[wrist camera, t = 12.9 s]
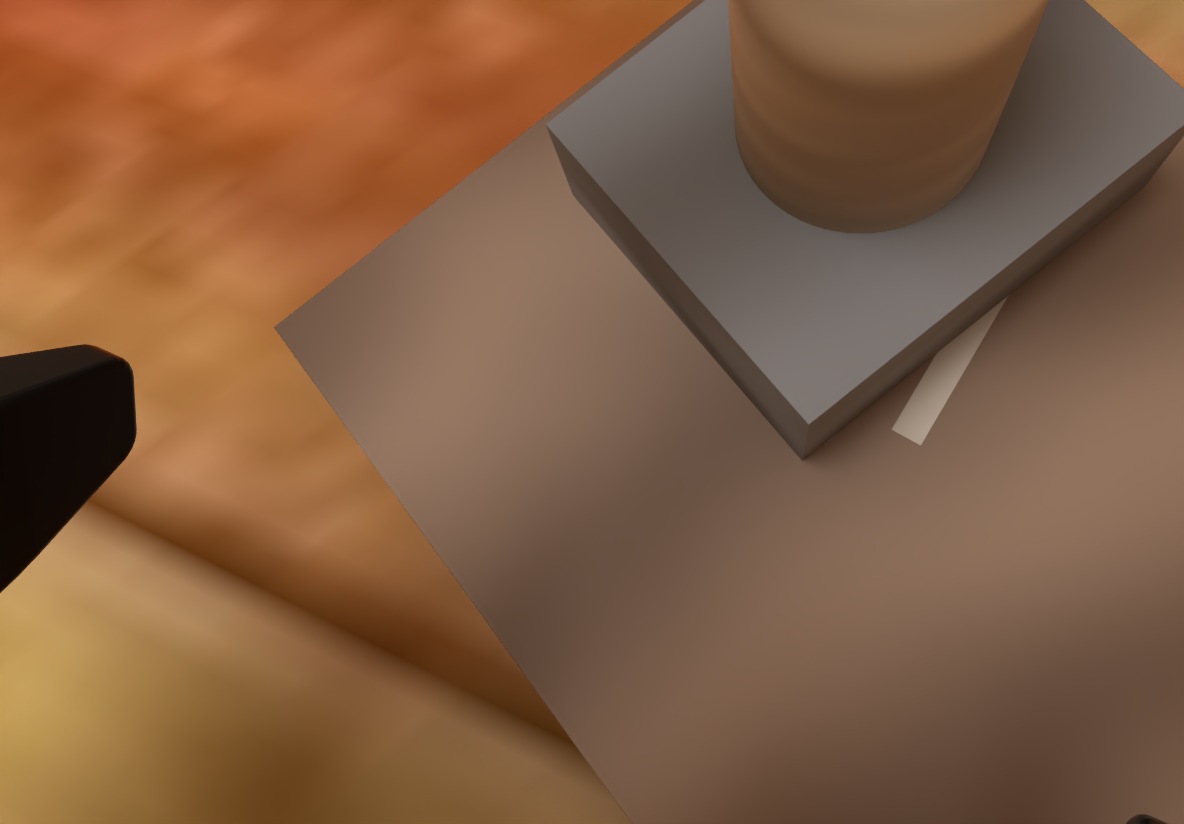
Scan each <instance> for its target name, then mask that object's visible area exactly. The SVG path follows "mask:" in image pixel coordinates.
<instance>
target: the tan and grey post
mask: <svg viewBox="0 0 1184 824" xmlns="http://www.w3.org/2000/svg"><path fill="white" fill-rule="evenodd" d="M546 126H547V129H548V132H549V134H550V137H551V139H552V142H553V145H554V147H555V150H556V152H557V155H558V158H559V160H560V163H561V165H562V168H563V171H564V173H565V176H566V178H567V181H568V184H569V186H570V189H571V191H572V194H573V196H574V197H575V198H576V199H577V200H578V202H579V203H580V204H581V205H582V206H583V207H584V209H585V210H586V211H587V212H588V213H589V214H590V216H591V217H592V218H593V219H594V220H595V221H596V222H597V224H598V225H599V226H600V227H601V228H602V229H603V231H604V232H605V233H606V234H607V235H608V236H609V238H610V239H611V240H612V241H613V242H614V243H615V244H616V246H617V247H618V248H619V249H620V250H621V251H622V253H623V254H624V255H625V256H626V257H627V258H628V260H629V261H630V262H631V263H632V264H633V265H634V266H635V268H636V269H637V270H638V271H639V272H640V273H641V275H642V276H643V277H644V278H645V279H646V280H647V282H648V283H649V284H650V285H651V286H652V287H653V288H654V290H655V291H656V292H657V293H658V294H659V295H660V297H661V298H662V299H663V300H664V301H665V302H666V304H667V305H668V306H669V307H670V308H671V309H672V310H673V312H674V313H675V314H676V315H677V316H678V317H679V319H680V320H681V321H682V322H683V323H684V324H685V326H686V327H687V328H688V329H689V330H690V331H691V333H692V334H693V335H694V336H695V337H696V338H697V339H698V341H699V342H700V343H701V344H702V345H703V346H704V348H705V349H706V350H707V351H708V352H709V353H710V355H711V356H712V357H713V358H714V359H715V360H716V361H717V363H718V364H719V365H720V366H721V367H722V368H723V370H724V371H725V372H726V373H727V374H728V375H729V377H730V378H731V379H732V380H733V381H734V382H735V383H736V385H737V386H738V387H739V388H740V389H741V390H742V392H743V393H744V394H745V395H746V396H747V397H748V399H749V400H750V401H751V402H752V403H753V404H754V405H755V407H756V408H757V409H758V410H759V411H760V412H761V414H762V415H763V416H764V417H765V418H766V419H767V421H768V422H769V423H770V424H771V425H772V426H773V427H774V429H775V430H776V431H777V432H778V433H779V434H780V436H781V437H782V438H783V439H784V440H785V441H786V443H787V444H788V445H789V446H790V447H791V448H792V449H793V451H794V452H795V453H796V454H797V455H798V456H799V458H800V459H801V460H804V459H805V458H806V457H807V456H809V455H810V454H811V453H812V452H814V451H815V450H816V449H817V448H819V447H820V446H821V445H822V444H824V443H825V442H826V441H827V440H829V439H830V438H831V437H832V436H834V435H835V434H836V433H837V432H839V431H840V430H841V429H842V428H844V427H845V426H846V425H847V424H849V423H850V422H851V421H852V420H854V419H855V418H856V417H857V416H859V415H860V414H861V413H862V412H864V411H865V410H866V409H867V408H869V407H870V406H871V405H872V404H874V403H875V402H876V401H877V400H879V399H880V398H881V397H882V396H884V395H885V394H886V393H887V392H889V391H890V390H891V389H892V388H894V387H895V386H896V385H897V384H899V383H900V382H901V381H902V380H904V379H905V378H906V377H907V376H909V375H910V374H911V373H912V372H914V371H915V370H916V369H917V368H919V367H920V366H921V365H922V364H924V363H925V362H926V361H927V360H929V359H930V358H931V357H932V356H934V355H935V354H936V353H937V352H939V351H940V350H941V349H942V348H944V347H945V346H946V345H947V344H949V343H950V342H951V341H952V340H954V339H955V338H956V337H957V336H959V335H960V334H961V333H962V332H964V331H965V330H966V329H967V328H969V327H970V326H971V325H972V324H974V323H975V322H976V321H977V320H979V319H980V318H981V317H982V316H984V315H985V314H986V313H987V312H989V311H990V310H991V309H992V308H994V307H995V306H996V305H997V304H999V303H1000V302H1001V301H1002V300H1004V299H1005V298H1006V297H1007V296H1009V295H1010V294H1011V293H1012V292H1014V291H1015V290H1016V289H1017V288H1019V287H1020V286H1021V285H1022V284H1024V283H1025V282H1026V281H1027V280H1029V279H1030V278H1031V277H1032V276H1034V275H1035V274H1036V273H1037V272H1039V271H1040V270H1041V269H1042V268H1044V267H1045V266H1046V265H1047V264H1049V263H1050V262H1051V261H1052V260H1054V259H1055V258H1056V257H1057V256H1059V255H1060V254H1061V253H1062V252H1064V251H1065V250H1066V249H1067V248H1069V247H1070V246H1071V245H1072V244H1074V243H1075V242H1076V241H1077V240H1079V239H1080V238H1081V237H1082V236H1084V235H1085V234H1086V233H1087V232H1089V231H1090V230H1091V229H1092V228H1094V227H1095V226H1096V225H1097V224H1099V223H1100V222H1101V221H1102V220H1104V219H1105V218H1106V217H1107V216H1109V215H1110V214H1111V213H1112V212H1114V211H1115V210H1116V209H1117V208H1119V207H1120V206H1121V205H1122V204H1124V203H1125V202H1126V201H1127V200H1129V199H1130V198H1131V197H1132V196H1134V195H1135V194H1136V193H1137V192H1139V191H1140V190H1141V189H1142V188H1144V187H1145V186H1146V184H1147V183H1148V182H1149V181H1150V179H1151V178H1152V177H1153V175H1154V174H1155V173H1156V171H1157V170H1158V169H1159V168H1160V166H1161V165H1162V164H1163V162H1164V161H1165V160H1166V158H1167V157H1168V156H1169V155H1170V153H1171V152H1172V151H1173V149H1174V148H1175V147H1176V145H1177V144H1178V143H1179V141H1180V140H1181V139H1182V138H1183V136H1184V89H1183V88H1182V87H1181V86H1180V85H1179V84H1178V83H1177V82H1176V81H1174V80H1173V79H1172V78H1171V77H1170V76H1169V75H1168V74H1167V73H1165V72H1164V71H1163V70H1162V69H1161V68H1160V67H1159V66H1158V65H1156V64H1155V63H1154V62H1153V61H1152V60H1151V59H1150V58H1149V57H1147V56H1146V55H1145V54H1144V53H1143V52H1142V51H1141V50H1140V49H1138V48H1137V47H1136V46H1135V45H1134V44H1133V43H1132V42H1131V41H1129V40H1128V39H1127V38H1126V37H1125V36H1124V35H1123V34H1122V33H1120V32H1119V31H1118V30H1117V29H1116V28H1115V27H1114V26H1113V25H1111V24H1110V23H1109V22H1108V21H1107V20H1106V19H1105V18H1104V17H1102V16H1101V15H1100V14H1099V13H1098V12H1097V11H1096V10H1095V9H1093V8H1092V7H1091V6H1090V5H1089V4H1088V3H1087V2H1086V1H1084V0H705V1H703V2H702V3H701V4H700V5H698V6H697V7H696V8H694V9H693V10H692V11H691V12H689V13H688V14H687V15H685V16H684V17H683V18H682V19H680V20H679V21H678V22H676V23H675V24H674V25H673V26H671V27H670V28H669V29H667V30H666V31H665V32H664V33H662V34H661V35H660V36H658V37H657V38H656V39H655V40H653V41H652V42H651V43H649V44H648V45H647V46H646V47H644V48H643V49H642V50H640V51H639V52H638V53H637V54H635V55H634V56H633V57H631V58H630V59H629V60H628V61H626V62H625V63H624V64H623V65H621V66H620V67H619V68H617V69H616V70H615V71H614V72H612V73H611V74H610V75H608V76H607V77H606V78H605V79H603V80H602V81H601V82H599V83H598V84H597V85H596V86H594V87H593V88H592V89H590V90H589V91H588V92H587V93H585V94H584V95H583V96H581V97H580V98H579V99H578V100H576V101H575V102H574V103H572V104H571V105H570V106H569V107H567V108H566V109H565V110H563V111H562V112H561V113H560V114H558V115H557V116H556V117H554V118H553V119H552V120H551V121H549V122H548V123H547V124H546Z"/></svg>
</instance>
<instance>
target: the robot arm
mask: <svg viewBox="0 0 1184 824" xmlns="http://www.w3.org/2000/svg"><path fill="white" fill-rule="evenodd" d="M136 430H137V428H136V410H135V393H134V376H133V371H132V369H131V367H130V365H129V363H128V362H127V361H125V360H124V359H123V358H121V357H119V356H117V355H114V354H112V353H110V352H108V351H105V350H103V349H101V348H99V347H96V346H92V345H86V344H84V345H76V346H69V347H63V348H56V349H50V350H44V351H37V352H31V353H24V354H18V355H11V356H5V357H0V593H1V592H2V591H3V590H4V589H5V588H6V587H7V586H8V585H9V584H10V583H11V582H12V581H13V580H15V579H16V578H17V577H18V576H19V575H20V574H21V573H22V572H23V570H24V569H25V568H26V567H27V566H28V565H29V564H30V563H31V562H32V561H33V560H34V559H35V558H36V557H37V556H38V555H39V554H40V553H41V551H42V550H43V549H44V548H45V547H46V546H47V545H48V544H49V543H50V541H51V540H52V539H53V538H54V537H55V536H56V535H57V534H58V533H59V532H60V530H61V529H62V528H63V527H64V526H65V525H66V524H67V523H68V522H69V521H70V519H71V518H72V517H73V516H74V515H75V514H76V513H77V512H78V511H79V509H80V508H81V507H82V506H83V505H84V504H85V503H86V502H87V501H88V500H89V498H90V497H91V496H92V495H93V494H94V493H95V492H96V491H97V490H98V488H99V487H100V486H101V485H102V484H103V483H104V482H105V481H106V480H107V479H108V477H109V476H110V475H111V474H112V473H113V472H114V471H115V470H116V469H117V467H118V466H119V465H120V464H121V463H122V462H123V461H124V460H125V458H126V457H127V456H128V454H129V452H130V451H131V449H132V447H133V444H134V442H135V438H136ZM1126 824H1168V823H1166V822H1163V821H1161V820H1159V819H1157V818H1155V817H1152V816H1150V815H1146V814H1138V815H1135V816H1134V817H1132V818H1131V819H1129V820H1128V821H1127V822H1126Z"/></svg>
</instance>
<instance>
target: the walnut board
mask: <svg viewBox="0 0 1184 824" xmlns="http://www.w3.org/2000/svg"><path fill="white" fill-rule="evenodd" d="M703 1H705V0H694V1H692V2H691V3H690V4H688V5H687V6H686V7H685V8H683V9H682V10H681V11H679V12H678V13H677V14H676V15H674V16H673V17H672V18H670V19H669V20H668V21H667V22H665V23H664V24H663V25H661V26H660V27H659V28H658V29H656V30H655V31H654V32H652V33H651V34H650V35H649V36H647V37H646V38H645V39H643V40H642V41H641V42H640V43H638V44H637V45H636V46H634V47H633V48H632V49H631V50H629V51H628V52H627V53H626V54H624V55H623V56H622V57H620V58H619V59H618V60H617V61H615V62H614V63H613V64H611V65H610V66H609V67H608V68H606V69H605V70H604V71H602V72H601V73H600V74H599V75H597V76H596V77H595V78H593V79H592V80H591V81H590V82H588V83H587V84H586V85H584V86H583V87H582V88H581V89H579V90H578V91H577V92H575V93H574V94H573V95H572V96H570V97H569V98H568V99H566V100H565V101H564V102H563V103H561V104H560V105H559V106H557V107H556V108H555V109H554V110H552V111H551V112H550V113H548V114H547V115H546V116H545V117H543V118H542V119H541V120H539V121H538V122H537V123H536V124H534V125H533V126H532V127H530V128H529V129H528V130H527V131H525V132H524V133H523V134H521V135H520V136H519V137H518V138H516V139H515V140H514V141H512V142H511V143H510V144H509V145H507V146H506V147H505V148H504V149H502V150H501V151H500V152H498V153H497V154H496V155H495V156H493V157H492V158H491V159H489V160H488V161H487V162H486V163H484V164H483V165H482V166H480V167H479V168H478V169H477V170H475V171H474V172H473V173H471V174H470V175H469V176H468V177H466V178H465V179H464V180H462V181H461V182H460V183H459V184H457V185H456V186H455V187H453V188H452V189H451V190H450V191H448V192H447V193H446V194H444V195H443V196H442V197H441V198H439V199H438V200H437V201H435V202H434V203H433V204H432V205H430V206H429V207H428V208H426V209H425V210H424V211H423V212H421V213H420V214H419V215H417V216H416V217H415V218H414V219H412V220H411V221H410V222H408V223H407V224H406V225H405V226H403V227H402V228H401V229H399V230H398V231H397V232H396V233H394V234H393V235H392V236H391V237H389V238H388V239H387V240H385V241H384V242H383V243H382V244H380V245H379V246H378V247H376V248H375V249H374V250H373V251H371V252H370V253H369V254H367V255H366V256H365V257H364V258H362V259H361V260H360V261H358V262H357V263H356V264H355V265H353V266H352V267H351V268H349V269H348V270H347V271H346V272H344V273H343V274H342V275H340V276H339V277H338V278H337V279H335V280H334V281H333V282H331V283H330V284H329V285H328V286H326V287H325V288H324V289H322V290H321V291H320V292H319V293H317V294H316V295H315V296H313V297H312V298H311V299H310V300H308V301H307V302H306V303H304V304H303V305H302V306H301V307H299V308H298V309H297V310H295V311H294V312H293V313H292V314H290V315H289V316H288V317H286V318H285V319H284V320H283V321H281V322H280V323H279V324H277V325H276V326H275V327H274V328H275V329H276V331H277V332H278V334H279V335H280V336H281V338H282V339H283V341H284V342H285V343H286V345H287V346H288V348H289V349H290V350H291V352H292V353H293V354H294V356H295V357H296V359H297V360H298V361H299V363H300V364H301V366H302V367H303V368H304V370H305V371H306V372H307V374H308V375H309V377H310V378H311V379H312V381H313V382H314V384H315V385H316V386H317V388H318V389H319V390H320V392H321V393H322V395H323V396H324V397H325V399H326V400H327V402H328V403H329V404H330V406H331V407H332V408H333V410H334V411H335V413H336V414H337V415H338V417H339V418H340V420H341V421H342V422H343V424H344V425H345V427H346V428H347V429H348V431H349V432H350V433H351V435H352V436H353V438H354V439H355V440H356V442H357V443H358V445H359V446H360V447H361V449H362V450H363V451H364V453H365V454H366V456H367V457H368V458H369V460H370V461H371V463H372V464H373V465H374V467H375V468H376V469H377V471H378V472H379V474H380V475H381V476H382V478H383V479H384V481H385V482H386V483H387V485H388V486H389V488H390V489H391V490H392V492H393V493H394V494H395V496H396V497H397V499H398V500H399V501H400V503H401V504H402V506H403V507H404V508H405V510H406V511H407V512H408V514H409V515H410V517H411V518H412V519H413V521H414V522H415V524H416V525H417V526H418V528H419V529H420V530H421V532H422V533H423V535H424V536H425V537H426V539H427V540H428V542H429V543H430V544H431V546H432V547H433V548H434V550H435V551H436V553H437V554H438V555H439V557H440V558H441V560H442V561H443V562H444V564H445V565H446V567H447V568H448V569H449V571H450V572H451V573H452V575H453V576H454V578H455V579H456V580H457V582H458V583H459V585H460V586H461V587H462V589H463V590H464V591H465V593H466V594H467V596H468V597H469V598H470V600H471V601H472V603H473V604H474V605H475V607H476V608H477V609H478V611H479V612H480V614H481V615H482V616H483V618H484V619H485V621H486V622H487V623H488V625H489V626H490V627H491V629H492V630H493V632H494V633H495V634H496V636H497V637H498V639H499V640H500V641H501V643H502V644H503V646H504V647H505V648H506V650H507V651H508V652H509V654H510V655H511V657H512V658H513V659H514V661H515V662H516V664H517V665H518V666H519V668H520V669H521V670H522V672H523V673H524V675H525V676H526V677H527V679H528V680H529V682H530V683H531V684H532V686H533V687H534V688H535V690H536V691H537V693H538V694H539V695H540V697H541V698H542V700H543V701H544V702H545V704H546V705H547V707H548V708H549V709H550V711H551V712H552V713H553V715H554V716H555V718H556V719H557V720H558V722H559V723H560V725H561V726H562V727H563V729H564V730H565V731H566V733H567V734H568V736H569V737H570V738H571V740H572V741H573V743H574V744H575V745H576V747H577V748H578V749H579V751H580V752H581V754H582V755H583V756H584V758H585V759H586V761H587V762H588V763H589V765H590V766H591V767H592V769H593V770H594V772H595V773H596V774H597V776H598V777H599V779H600V780H601V781H602V783H603V784H604V786H605V787H606V788H607V790H608V791H609V792H610V794H611V795H612V797H613V798H614V799H615V801H616V802H617V804H618V805H619V806H620V808H621V809H622V810H623V812H624V813H625V815H626V816H627V817H628V819H629V820H630V822H631V823H632V824H1126V822H1127V821H1128V820H1129V819H1131V818H1132V817H1134V816H1135V815H1138V814H1146V815H1150V816H1152V817H1155V818H1157V819H1159V820H1161V821H1163V822H1166V823H1168V824H1184V136H1183V138H1182V139H1181V140H1180V141H1179V143H1178V144H1177V145H1176V147H1175V148H1174V149H1173V151H1172V152H1171V153H1170V155H1169V156H1168V157H1167V158H1166V160H1165V161H1164V162H1163V164H1162V165H1161V166H1160V168H1159V169H1158V170H1157V171H1156V173H1155V174H1154V175H1153V177H1152V178H1151V179H1150V181H1149V182H1148V183H1147V184H1146V186H1145V187H1144V188H1142V189H1141V190H1140V191H1139V192H1137V193H1136V194H1135V195H1134V196H1132V197H1131V198H1130V199H1129V200H1127V201H1126V202H1125V203H1124V204H1122V205H1121V206H1120V207H1119V208H1117V209H1116V210H1115V211H1114V212H1112V213H1111V214H1110V215H1109V216H1107V217H1106V218H1105V219H1104V220H1102V221H1101V222H1100V223H1099V224H1097V225H1096V226H1095V227H1094V228H1092V229H1091V230H1090V231H1089V232H1087V233H1086V234H1085V235H1084V236H1082V237H1081V238H1080V239H1079V240H1077V241H1076V242H1075V243H1074V244H1072V245H1071V246H1070V247H1069V248H1067V249H1066V250H1065V251H1064V252H1062V253H1061V254H1060V255H1059V256H1057V257H1056V258H1055V259H1054V260H1052V261H1051V262H1050V263H1049V264H1047V265H1046V266H1045V267H1044V268H1042V269H1041V270H1040V271H1039V272H1037V273H1036V274H1035V275H1034V276H1032V277H1031V278H1030V279H1029V280H1027V281H1026V282H1025V283H1024V284H1022V285H1021V286H1020V287H1019V288H1017V289H1016V290H1015V291H1014V292H1012V293H1011V294H1010V295H1009V296H1007V297H1006V298H1005V299H1004V300H1002V301H1001V302H1000V303H999V304H997V305H996V306H995V307H994V308H992V309H991V310H990V311H989V312H987V313H986V314H985V315H984V316H982V317H981V318H980V319H979V320H977V321H976V322H975V323H974V324H972V325H971V326H970V327H969V328H967V329H966V330H965V331H964V332H962V333H961V334H960V335H959V336H957V337H956V338H955V339H954V340H952V341H951V342H950V343H949V344H947V345H946V346H945V347H944V348H942V349H941V350H940V351H939V352H937V353H936V354H935V355H934V356H932V357H931V358H930V359H929V360H927V361H926V362H925V363H924V364H922V365H921V366H920V367H919V368H917V369H916V370H915V371H914V372H912V373H911V374H910V375H909V376H907V377H906V378H905V379H904V380H902V381H901V382H900V383H899V384H897V385H896V386H895V387H894V388H892V389H891V390H890V391H889V392H887V393H886V394H885V395H884V396H882V397H881V398H880V399H879V400H877V401H876V402H875V403H874V404H872V405H871V406H870V407H869V408H867V409H866V410H865V411H864V412H862V413H861V414H860V415H859V416H857V417H856V418H855V419H854V420H852V421H851V422H850V423H849V424H847V425H846V426H845V427H844V428H842V429H841V430H840V431H839V432H837V433H836V434H835V435H834V436H832V437H831V438H830V439H829V440H827V441H826V442H825V443H824V444H822V445H821V446H820V447H819V448H817V449H816V450H815V451H814V452H812V453H811V454H810V455H809V456H807V457H806V458H805V459H804V460H801V459H800V458H799V456H798V455H797V454H796V453H795V452H794V451H793V449H792V448H791V447H790V446H789V445H788V444H787V443H786V441H785V440H784V439H783V438H782V437H781V436H780V434H779V433H778V432H777V431H776V430H775V429H774V427H773V426H772V425H771V424H770V423H769V422H768V421H767V419H766V418H765V417H764V416H763V415H762V414H761V412H760V411H759V410H758V409H757V408H756V407H755V405H754V404H753V403H752V402H751V401H750V400H749V399H748V397H747V396H746V395H745V394H744V393H743V392H742V390H741V389H740V388H739V387H738V386H737V385H736V383H735V382H734V381H733V380H732V379H731V378H730V377H729V375H728V374H727V373H726V372H725V371H724V370H723V368H722V367H721V366H720V365H719V364H718V363H717V361H716V360H715V359H714V358H713V357H712V356H711V355H710V353H709V352H708V351H707V350H706V349H705V348H704V346H703V345H702V344H701V343H700V342H699V341H698V339H697V338H696V337H695V336H694V335H693V334H692V333H691V331H690V330H689V329H688V328H687V327H686V326H685V324H684V323H683V322H682V321H681V320H680V319H679V317H678V316H677V315H676V314H675V313H674V312H673V310H672V309H671V308H670V307H669V306H668V305H667V304H666V302H665V301H664V300H663V299H662V298H661V297H660V295H659V294H658V293H657V292H656V291H655V290H654V288H653V287H652V286H651V285H650V284H649V283H648V282H647V280H646V279H645V278H644V277H643V276H642V275H641V273H640V272H639V271H638V270H637V269H636V268H635V266H634V265H633V264H632V263H631V262H630V261H629V260H628V258H627V257H626V256H625V255H624V254H623V253H622V251H621V250H620V249H619V248H618V247H617V246H616V244H615V243H614V242H613V241H612V240H611V239H610V238H609V236H608V235H607V234H606V233H605V232H604V231H603V229H602V228H601V227H600V226H599V225H598V224H597V222H596V221H595V220H594V219H593V218H592V217H591V216H590V214H589V213H588V212H587V211H586V210H585V209H584V207H583V206H582V205H581V204H580V203H579V202H578V200H577V199H576V198H575V197H574V196H573V194H572V191H571V189H570V186H569V184H568V181H567V178H566V176H565V173H564V171H563V168H562V165H561V163H560V160H559V158H558V155H557V152H556V150H555V147H554V145H553V142H552V139H551V137H550V134H549V132H548V129H547V126H546V124H547V123H548V122H549V121H551V120H552V119H553V118H554V117H556V116H557V115H558V114H560V113H561V112H562V111H563V110H565V109H566V108H567V107H569V106H570V105H571V104H572V103H574V102H575V101H576V100H578V99H579V98H580V97H581V96H583V95H584V94H585V93H587V92H588V91H589V90H590V89H592V88H593V87H594V86H596V85H597V84H598V83H599V82H601V81H602V80H603V79H605V78H606V77H607V76H608V75H610V74H611V73H612V72H614V71H615V70H616V69H617V68H619V67H620V66H621V65H623V64H624V63H625V62H626V61H628V60H629V59H630V58H631V57H633V56H634V55H635V54H637V53H638V52H639V51H640V50H642V49H643V48H644V47H646V46H647V45H648V44H649V43H651V42H652V41H653V40H655V39H656V38H657V37H658V36H660V35H661V34H662V33H664V32H665V31H666V30H667V29H669V28H670V27H671V26H673V25H674V24H675V23H676V22H678V21H679V20H680V19H682V18H683V17H684V16H685V15H687V14H688V13H689V12H691V11H692V10H693V9H694V8H696V7H697V6H698V5H700V4H701V3H702V2H703Z"/></svg>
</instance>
